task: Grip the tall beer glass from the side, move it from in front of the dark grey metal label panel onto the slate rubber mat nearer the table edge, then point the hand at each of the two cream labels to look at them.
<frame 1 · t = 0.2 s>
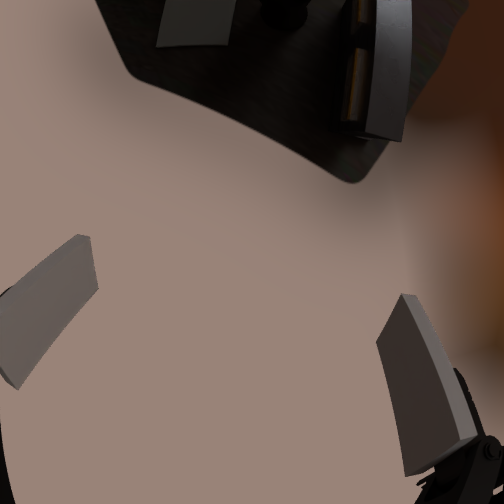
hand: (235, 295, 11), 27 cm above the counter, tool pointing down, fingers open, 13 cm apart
beer glass: (284, 13, 25), on the counter
rubber mat: (196, 15, 26), on the counter
label panel: (348, 66, 27), on the counter
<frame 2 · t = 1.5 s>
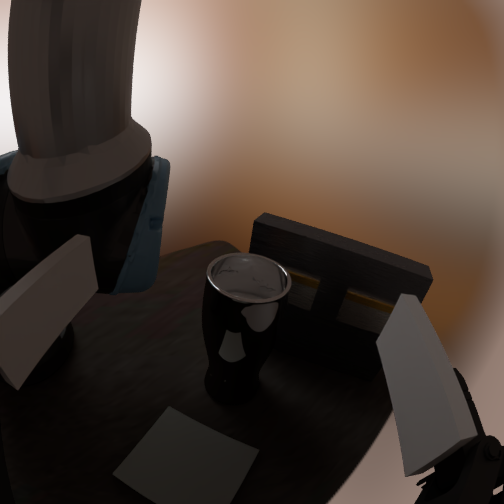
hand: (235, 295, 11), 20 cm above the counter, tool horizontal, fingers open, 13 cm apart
beer glass: (231, 384, 28), on the counter
rubber mat: (186, 468, 18), on the counter
label panel: (307, 352, 34), on the counter
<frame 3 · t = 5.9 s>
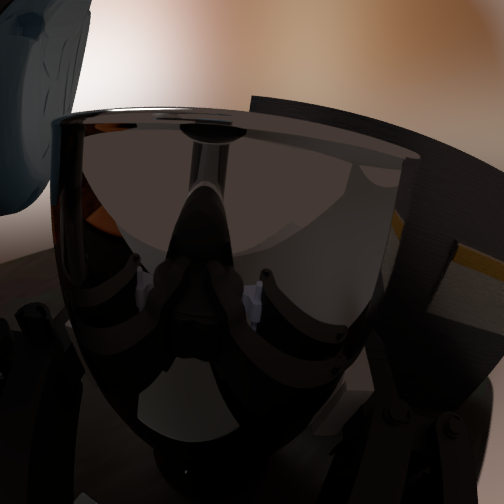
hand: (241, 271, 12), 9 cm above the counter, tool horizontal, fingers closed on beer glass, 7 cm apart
beer glass: (210, 452, 12), on the counter, touching gripper
label panel: (350, 376, 17), on the counter
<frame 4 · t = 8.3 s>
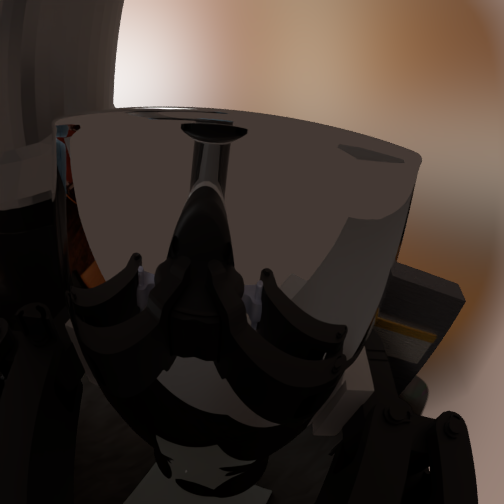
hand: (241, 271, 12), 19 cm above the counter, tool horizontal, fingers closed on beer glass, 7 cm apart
beer glass: (211, 452, 12), point 10 cm above the counter, touching gripper
label panel: (320, 376, 29), on the counter
when the fingers open (10 cm above the counter, at t = 11.0 s): beer glass drops 1 cm, resting on rubber mat.
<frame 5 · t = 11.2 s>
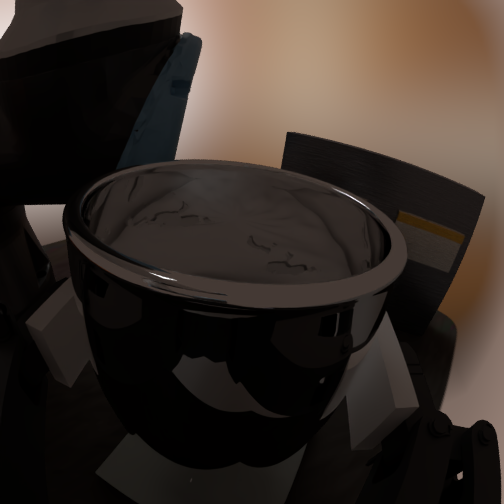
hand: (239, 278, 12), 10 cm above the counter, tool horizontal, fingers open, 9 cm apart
beer glass: (211, 460, 12), resting on rubber mat
rubber mat: (210, 460, 13), on the counter
label panel: (345, 305, 28), on the counter
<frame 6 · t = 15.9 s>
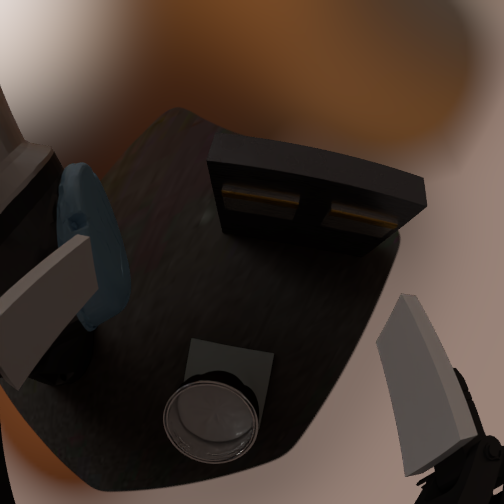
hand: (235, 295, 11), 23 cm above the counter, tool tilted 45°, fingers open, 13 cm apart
beer glass: (226, 385, 30), resting on rubber mat
rubber mat: (225, 385, 30), on the counter
label panel: (296, 234, 36), on the counter
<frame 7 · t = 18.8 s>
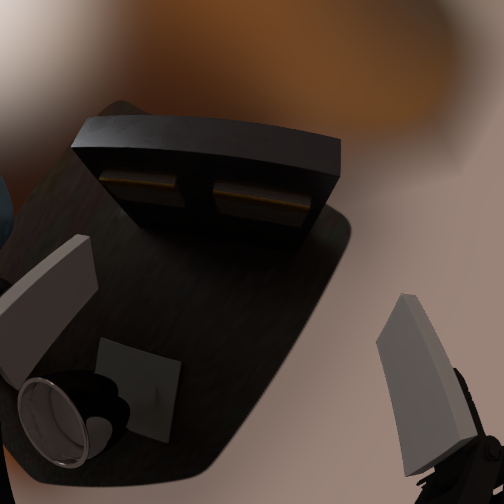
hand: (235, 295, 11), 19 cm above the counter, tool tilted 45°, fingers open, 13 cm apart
beer glass: (132, 391, 25), resting on rubber mat
rubber mat: (133, 391, 26), on the counter
label panel: (215, 226, 31), on the counter
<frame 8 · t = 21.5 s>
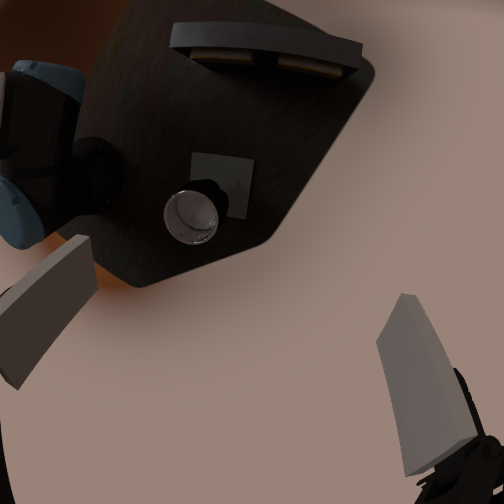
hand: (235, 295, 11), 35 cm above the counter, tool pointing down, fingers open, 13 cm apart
beer glass: (220, 185, 44), resting on rubber mat
rubber mat: (219, 185, 44), on the counter
label panel: (272, 66, 34), on the counter
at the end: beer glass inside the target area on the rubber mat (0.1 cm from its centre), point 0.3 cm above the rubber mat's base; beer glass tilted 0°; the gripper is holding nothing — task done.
